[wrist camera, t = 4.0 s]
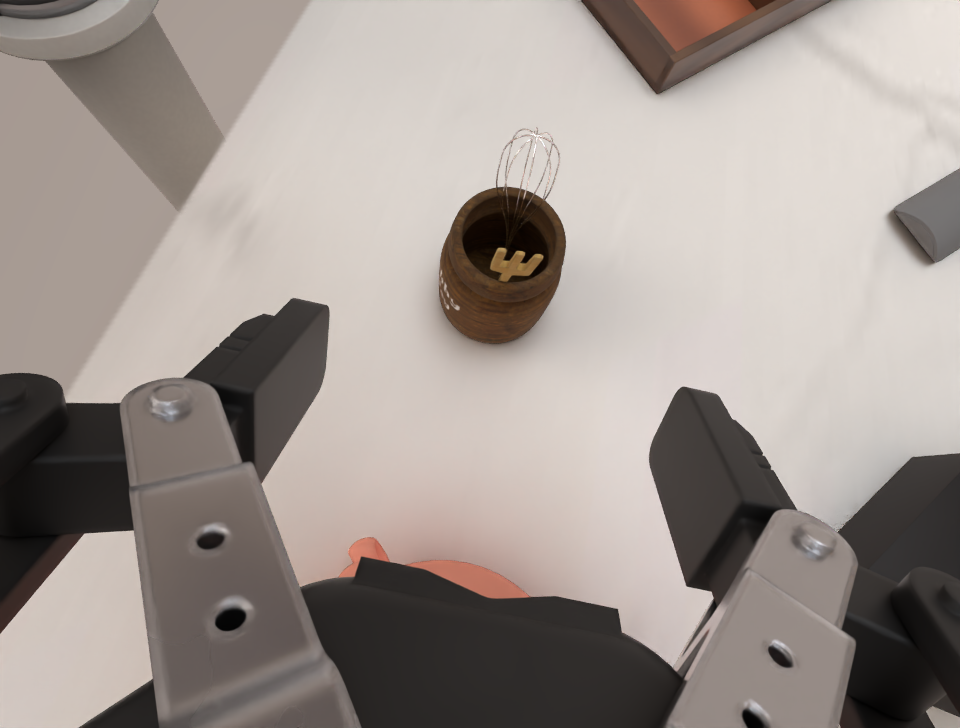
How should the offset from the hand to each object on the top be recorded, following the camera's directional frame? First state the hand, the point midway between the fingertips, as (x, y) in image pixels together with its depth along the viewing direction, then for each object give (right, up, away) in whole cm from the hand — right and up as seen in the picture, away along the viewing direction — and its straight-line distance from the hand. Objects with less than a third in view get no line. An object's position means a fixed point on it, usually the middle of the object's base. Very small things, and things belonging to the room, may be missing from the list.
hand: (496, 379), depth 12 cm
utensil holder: (0, +4, +18) cm, 18 cm away
